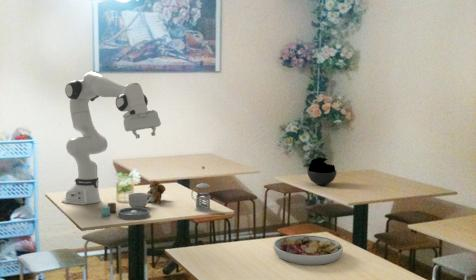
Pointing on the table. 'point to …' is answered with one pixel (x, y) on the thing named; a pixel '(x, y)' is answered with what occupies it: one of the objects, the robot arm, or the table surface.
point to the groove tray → (133, 213)
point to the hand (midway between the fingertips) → (145, 136)
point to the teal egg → (105, 211)
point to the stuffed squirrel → (155, 192)
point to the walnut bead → (112, 207)
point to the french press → (202, 198)
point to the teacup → (139, 199)
